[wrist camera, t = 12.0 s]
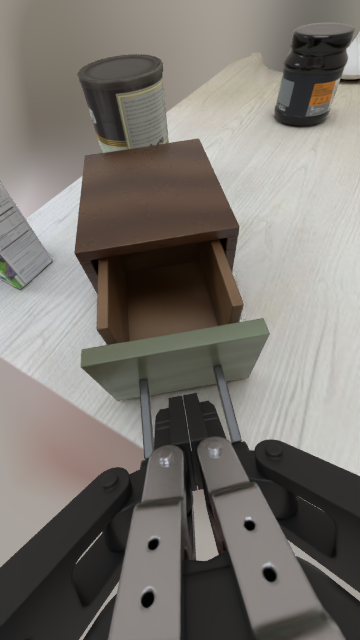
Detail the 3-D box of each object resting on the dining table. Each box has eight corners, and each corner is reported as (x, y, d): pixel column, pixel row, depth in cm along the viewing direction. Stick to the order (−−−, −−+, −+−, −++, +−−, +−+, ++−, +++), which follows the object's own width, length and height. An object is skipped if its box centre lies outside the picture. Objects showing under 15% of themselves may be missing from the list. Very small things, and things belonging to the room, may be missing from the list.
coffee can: (107, 202, 39) (66, 84, 27) (117, 169, 45) (88, 58, 33) (171, 199, 38) (159, 76, 27) (174, 165, 44) (164, 50, 32)
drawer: (278, 468, 18) (323, 463, 11) (119, 498, 18) (70, 511, 11) (211, 261, 30) (214, 198, 23) (114, 277, 29) (89, 218, 23)
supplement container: (338, 121, 49) (374, 28, 39) (290, 132, 48) (314, 40, 38) (307, 103, 55) (331, 18, 44) (263, 113, 53) (278, 28, 43)
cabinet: (227, 302, 27) (239, 226, 19) (112, 322, 27) (74, 253, 19) (199, 216, 36) (199, 138, 28) (111, 230, 36) (84, 155, 27)
